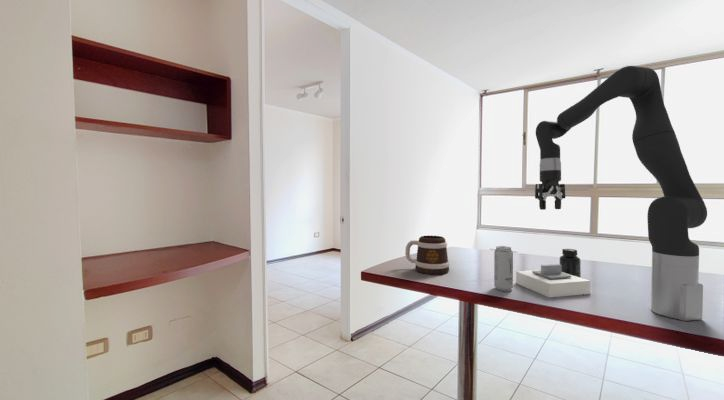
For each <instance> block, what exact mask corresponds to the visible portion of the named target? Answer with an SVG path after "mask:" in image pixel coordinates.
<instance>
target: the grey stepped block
mask: <svg viewBox="0 0 724 400" xmlns="http://www.w3.org/2000/svg"><path fill="white" fill-rule="evenodd" d="M540 270H541V271H532V273H535V274H537V275H540V276H543V277H546V278H549V279H557V278H571V276H570V275H567V274H564V273H561V265H560V263H555V264H541V265H540Z"/></svg>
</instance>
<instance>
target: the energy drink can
mask: <svg viewBox="0 0 724 400" xmlns="http://www.w3.org/2000/svg"><path fill="white" fill-rule="evenodd" d="M493 253H494V255H493V257H494V261H493V262H494V263H493V264H494V265H493V267H494V269H493V270H494V271H493V273H494V275H493V276H494V279H493V281H494V284H493V285H494V287H495V289H496V290H498V291H501V292H511V291H512V289H513V287H514V286H513V285H514V252H513V249H512V247H511V246H508V245H507V246H506V245H498V246H495V249H494V252H493Z"/></svg>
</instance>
